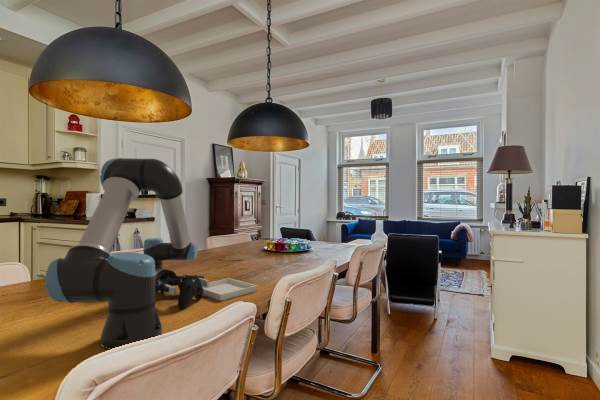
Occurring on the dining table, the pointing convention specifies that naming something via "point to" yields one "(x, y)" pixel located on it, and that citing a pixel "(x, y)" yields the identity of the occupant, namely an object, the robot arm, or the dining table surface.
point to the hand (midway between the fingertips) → (192, 287)
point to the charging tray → (228, 289)
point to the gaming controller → (189, 291)
